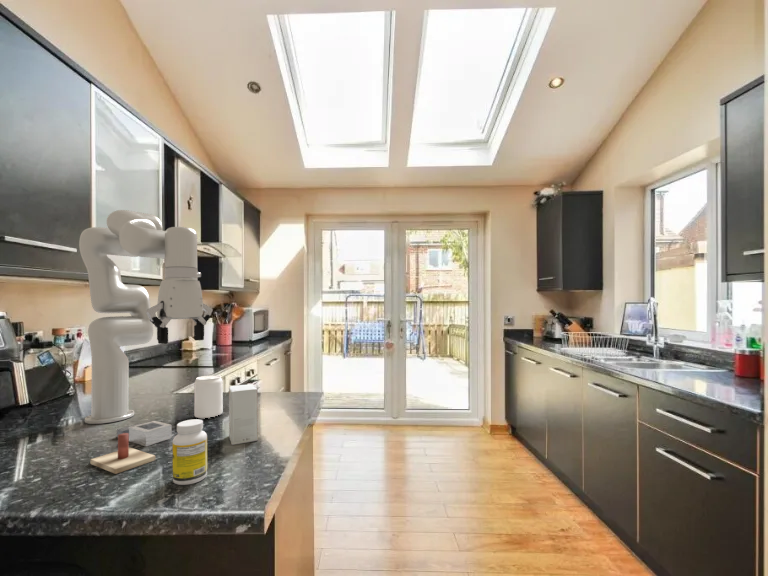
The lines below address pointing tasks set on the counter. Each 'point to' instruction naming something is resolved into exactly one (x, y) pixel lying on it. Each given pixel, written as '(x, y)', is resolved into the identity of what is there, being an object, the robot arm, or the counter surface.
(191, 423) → the pill bottle
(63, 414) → the counter surface
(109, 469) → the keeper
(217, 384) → the beverage can
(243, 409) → the small box
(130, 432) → the white hollow block
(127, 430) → the grey plaster slab
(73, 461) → the counter surface
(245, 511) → the counter surface
